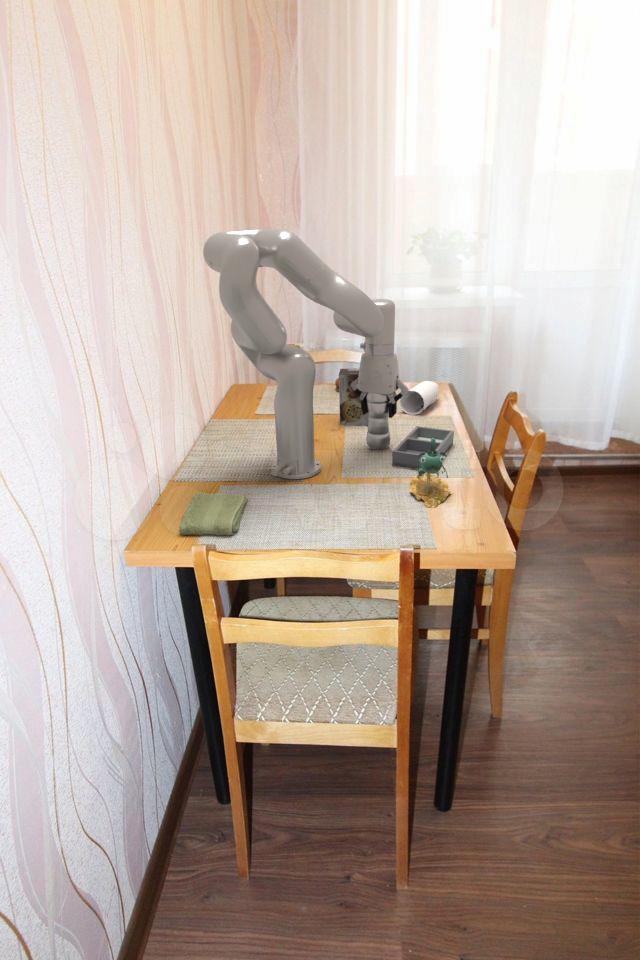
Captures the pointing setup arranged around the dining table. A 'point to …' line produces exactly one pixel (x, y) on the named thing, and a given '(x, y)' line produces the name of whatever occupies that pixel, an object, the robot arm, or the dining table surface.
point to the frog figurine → (430, 478)
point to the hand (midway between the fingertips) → (378, 414)
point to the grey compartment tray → (421, 446)
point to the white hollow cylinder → (419, 397)
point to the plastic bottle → (378, 421)
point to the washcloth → (213, 514)
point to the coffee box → (350, 400)
